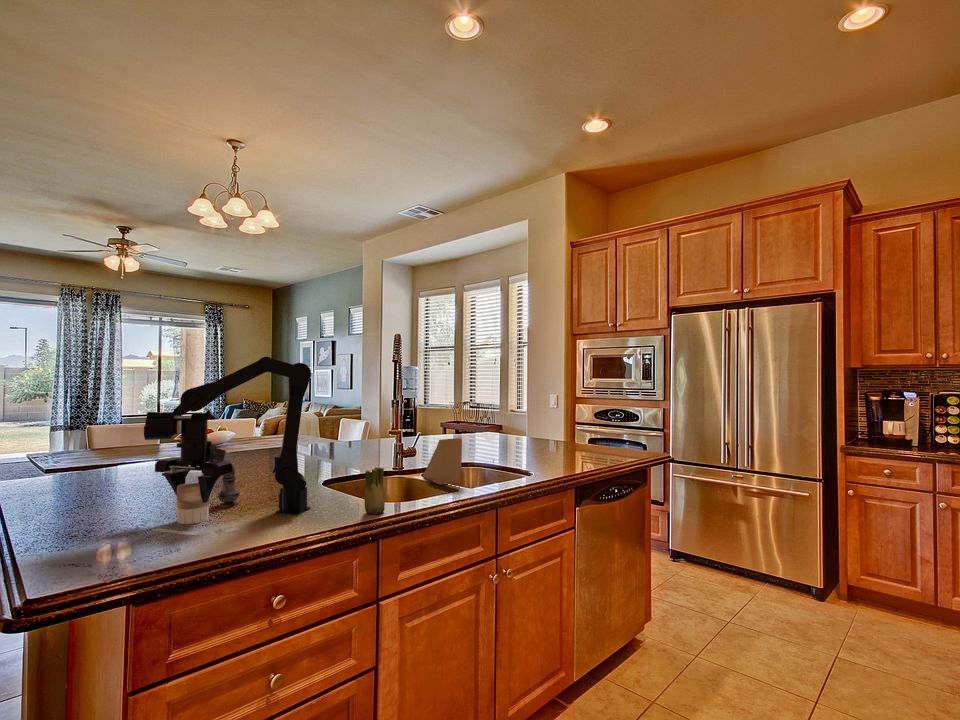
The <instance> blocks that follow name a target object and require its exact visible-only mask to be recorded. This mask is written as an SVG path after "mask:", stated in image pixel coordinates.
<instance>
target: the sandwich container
mask: <svg viewBox="0 0 960 720" xmlns="http://www.w3.org/2000/svg"><path fill="white" fill-rule="evenodd" d="M462 447H463V440H462V437H458V438H457V437H456V438H455V437H454V438H444V439H439V440H438V442H437V444H436V447H435V449H434V452H433V453H432V456H431V458H430V460H429V462H428V465H427V467H426V469H425V471H424V473H423V474H422V477H423V478H425V479H427V480H429V481H431V482H433V483H435V484H438V485H449V484H455V483H456V484H457V483H462V452H463V450H462V449H463V448H462Z"/></svg>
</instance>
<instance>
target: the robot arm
mask: <svg viewBox="0 0 960 720" xmlns="http://www.w3.org/2000/svg"><path fill="white" fill-rule="evenodd" d="M265 373H271V374H274V375H278V376H283V377H286V379H287V381H286V382H287V392H288V395H287V396H288V397H287V405H286V406H287V407H286V413H285V421H284V427H283V428H284V429H283V436H282V441H281V442H282V443H281V448H280V451H279V453H278V454H277V453H273V464H272V465H271V466H272V467H271V472H272V474H274V478H275V481H276V482H277V484H280V485H282V486H283V487H280V488H279V493H278V510H276V511H275V514H282V515H283V514H284V515H293V516H295V515H299V514H301V513H304V512H307V511H308V510H311V506H308V486H307V485H308V483H307V481H306V478H305V476H304V475H303V474H302V473H300V472H299V465H298V464H299V462H298V451H297V449H298V441H299V433H300V426H301V417H302V410H303V402H304V397H305V394H306V392H307V390H308V389H307V388H308V386H309V383H310V380H311V376H312V370H311V368H310V367H309V365H307V364H305V363H303V362H295V363H288V362H285V361H282V360H277V359H274V358H272V357H269V356H262V357H260V358H259V360H256V361H254V362H253V363H250V364H248V365H246V366H244V367H242V368H240V369H237V370H236V371H234V372H232V373H230V374H228V375H226V376H223V377H222V378H221V377H220V378H219V379H217V380H215V381H212V382H209V383H205V384H201V385H198V386H195V387H191V388H189V389H187V390H186V389H185V391H183V392H182V393H181V396H180V402H179V404H178V405H177V406H176V407H175V408H173V411H164V412H163V411H162V412H161V411H160V412H159V411H148V412H146V418H145V423H144V427H143V437H144V440H145V441H156V440H157V441H162V440H173V439H174V436H177V435H179V432H180V442H178V443H176V449H177V448H178V449H180V457H176V456H172V457H167V458H162V459H157V461H156V463H154V472H155V473H161V476H163V477H164V478H165V479H166V481H167V483H168V484H169V486H170V487H171V488H172V491H173V493H175V496H176V497H177V486H179V485H181V484H186V477H187V476H188V474H189V473H190V471H201V473H202V475H198V476H197V479H198V481H197V482H199V487H200V492H201V498H202V501H203V503H206V502H208V499H209V500H210V498H211V497H210V496H211V494H212V492H213V488H214V487H215V484H216V482H217V481H218V479H220V477H222V476H223V475H224V474H226V473H230V472H232V466H234V465H233V463H232V461H230V460H224V459H225V457H226V453H227V450H225V449H221V448H217V447H213V443H212V440H208V424H209V422H208V421H209V420H210V421H213V420H214V421H215V420H216V418H217V416H216V415H215V414H214V413H212V411H211V409H208V410H207V411H206V412H198V411H201V410H202V409H204V408H205V407H207V406H208V405H209V404H211V403H213V401H214V400H216V399H218V398H219V397H220V396H222V395H223V394H224V393H226V392H228V391H231V390H233V389H235V388H237V387H239V386H241V385H242V384H245V383H247V382H249V381H251V380H253V379H255V378H256V377H257V378H258V377H259V376H261V375H263V374H265ZM188 412H193V413H191V415H190V416H185V417H182V416H183V415H185V414H187V413H188ZM196 412H198V413H196ZM180 422H181V423H180ZM179 430H180V431H179Z"/></svg>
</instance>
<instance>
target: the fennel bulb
mask: <svg viewBox="0 0 960 720" xmlns="http://www.w3.org/2000/svg"><path fill="white" fill-rule="evenodd" d="M384 470H385V468H384V467H378V466H377V467H376V466H375V467H374V468H372V469H371V470H365V471H364V472H365V492H364V510H365V513H366V514H368V515H378V514H377V513H380V514H383V512H384V511H385V508H386V507H385V506H386V505H385V504H386V498H385V497H386V496H385V495H386V494H385V488H384Z"/></svg>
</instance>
